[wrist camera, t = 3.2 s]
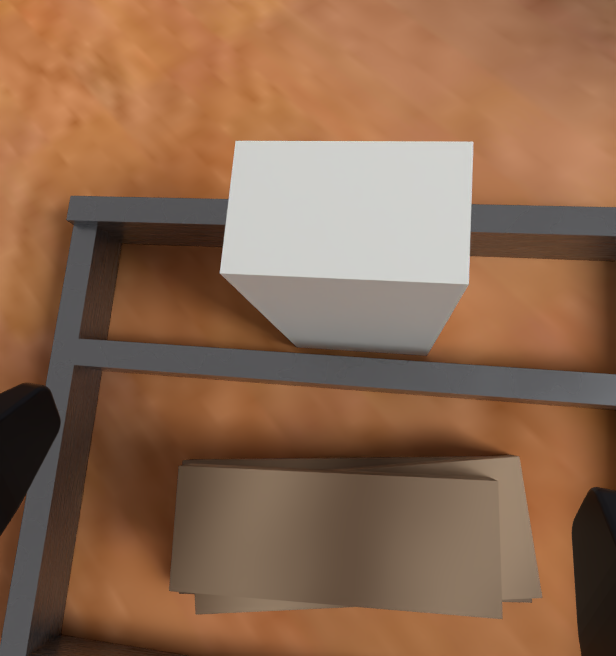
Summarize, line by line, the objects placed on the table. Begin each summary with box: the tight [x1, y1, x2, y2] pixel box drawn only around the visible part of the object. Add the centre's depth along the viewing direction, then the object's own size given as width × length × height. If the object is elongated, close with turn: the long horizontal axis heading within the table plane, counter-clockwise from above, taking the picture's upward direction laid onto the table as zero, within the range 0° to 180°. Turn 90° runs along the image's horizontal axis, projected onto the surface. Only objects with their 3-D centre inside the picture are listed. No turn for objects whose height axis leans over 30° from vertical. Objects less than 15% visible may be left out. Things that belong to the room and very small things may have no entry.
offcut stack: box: [169, 455, 542, 619], centre depth 18 cm, size 12×5×4 cm, turn 91°
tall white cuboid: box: [220, 141, 473, 356], centre depth 16 cm, size 5×3×10 cm, turn 85°
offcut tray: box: [0, 196, 616, 656], centre depth 18 cm, size 23×18×2 cm
